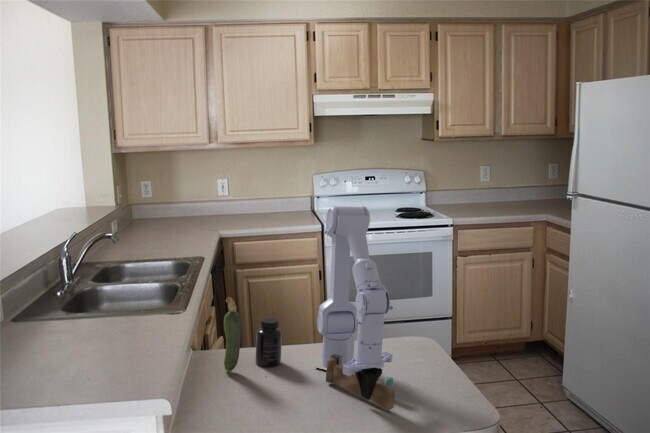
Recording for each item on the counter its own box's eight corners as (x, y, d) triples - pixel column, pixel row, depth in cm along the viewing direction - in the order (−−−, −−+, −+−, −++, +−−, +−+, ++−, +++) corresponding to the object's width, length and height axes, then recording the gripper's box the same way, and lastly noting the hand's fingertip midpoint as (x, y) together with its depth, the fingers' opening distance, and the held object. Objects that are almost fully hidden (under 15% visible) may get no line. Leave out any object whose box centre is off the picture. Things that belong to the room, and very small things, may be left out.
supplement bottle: (252, 359, 159) (254, 316, 157) (276, 357, 161) (278, 315, 159) (258, 369, 152) (260, 324, 151) (283, 367, 155) (285, 323, 153)
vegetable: (240, 370, 151) (243, 294, 148) (238, 376, 147) (241, 299, 144) (223, 369, 151) (225, 294, 148) (220, 376, 147) (223, 298, 144)
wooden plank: (323, 380, 146) (325, 359, 145) (330, 378, 147) (331, 357, 146) (387, 411, 131) (389, 387, 130) (394, 408, 133) (396, 385, 132)
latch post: (385, 396, 140) (386, 376, 140) (393, 398, 139) (394, 378, 139) (381, 399, 139) (383, 379, 138) (389, 401, 138) (391, 381, 137)
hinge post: (331, 378, 149) (333, 354, 148) (340, 380, 148) (341, 356, 147) (329, 380, 148) (330, 356, 147) (337, 383, 146) (338, 358, 146)
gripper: (360, 352, 125) (356, 413, 126) (404, 339, 134) (399, 395, 136) (337, 343, 130) (334, 401, 131) (381, 331, 140) (377, 385, 141)
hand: (365, 397), depth 134 cm, fingers closed
